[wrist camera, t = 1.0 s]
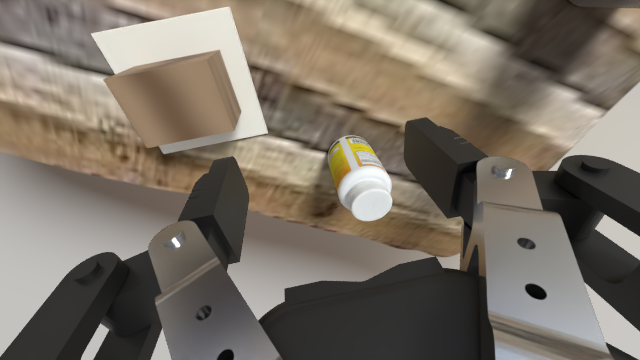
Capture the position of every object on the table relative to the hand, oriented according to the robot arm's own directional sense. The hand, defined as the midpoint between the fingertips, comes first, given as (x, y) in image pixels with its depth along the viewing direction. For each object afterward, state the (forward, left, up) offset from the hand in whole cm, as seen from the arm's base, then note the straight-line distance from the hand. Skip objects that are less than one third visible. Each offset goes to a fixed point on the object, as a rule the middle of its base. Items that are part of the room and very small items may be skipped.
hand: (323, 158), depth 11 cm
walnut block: (+11, 0, -18) cm, 21 cm away
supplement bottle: (-4, +11, -18) cm, 22 cm away
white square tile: (+11, 0, -18) cm, 21 cm away
